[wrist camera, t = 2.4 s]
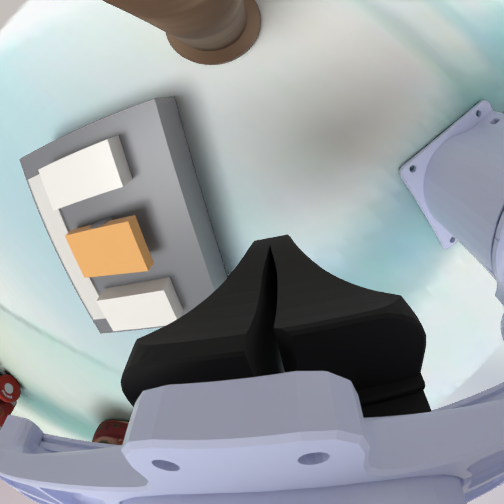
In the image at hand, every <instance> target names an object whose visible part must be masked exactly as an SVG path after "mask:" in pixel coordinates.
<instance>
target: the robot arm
mask: <svg viewBox="0 0 504 504" xmlns="http://www.w3.org/2000/svg"><path fill="white" fill-rule="evenodd" d="M477 111H478V116H476V112H477ZM412 165H413V166H414V169H413V171H410V167H411V166H412ZM399 174H400V177H401V178H402V180H403V181H404V183H405V184H406V186H407V187H408V189H409V191H410V192H411V194H412V195H413V197H414V199H415V200H416V202H417V204H418V205H419V207H420V209H421V210H422V212H423V214H424V215H425V217H426V219H427V220H428V222H429V224H430V226H431V227H432V229H433V231H434V233H435V235H436V236H437V238H438V240H439V242H440V244H441V246H442V247H443V248H444V249H448V248H450V247H451V246H453V245H454V244H455V243H456V242H457V241H459V242H460V243H461V244H462V245H463V246H464V247H465V248H466V249H467V250H468V251H469V252H470V253H471V254H472V255H473V256H474V257H475V258H476V259H477V260H478V261H479V262H480V263H481V264H482V265H483V267H484V268H485V269H486V270H487V271H488V272H489V273H490V274H491V275H492V276H493V277H494V278H495V279H496V281H497V290H496V293H495V296H496V297H497V298H498V300H499V301H500V302H501V303H502V305H503V306H504V113H501V112H497V111H493V109H492V107H491V105H490V103H489V102H488V101H487V100H481V101H480V102H479V103H478V104H476V105H475V106H474V107H473V108H472V109H470V110H469V111H468V112H467V113H466V114H465V115H463V116H462V117H461V118H460V119H459V120H457V121H456V122H455V123H454V124H453V125H451V126H450V127H449V128H448V129H447V130H445V131H444V132H443V133H442V134H441V135H439V136H438V137H437V138H436V139H435V140H433V141H432V142H431V143H430V144H429V145H427V146H426V147H425V148H424V149H423V150H421V151H420V152H419V153H418V154H416V155H415V156H414V157H413V158H412V159H410V160H409V161H408V162H407V163H405V164H404V165H403V166H402V167H401V168H400V170H399ZM451 237H453V239H452V240H450V239H451ZM501 333H502V337H503V340H504V314H503V316H502V320H501ZM425 348H426V334H425V331H424V329H423V327H422V325H421V323H420V321H419V319H418V317H417V316H416V314H415V313H414V312H413V310H412V309H411V308H410V306H409V305H408V304H407V303H406V301H405V300H404V299H403V298H402V296H400V295H395V294H389V293H384V292H378V291H374V290H370V289H367V288H363V287H360V286H357V285H354V284H351V283H349V282H347V281H344V280H342V279H340V278H338V277H336V276H334V275H332V274H330V273H329V272H327V271H325V270H324V269H322V268H321V267H320V266H318V265H317V264H316V263H314V262H313V261H312V260H311V259H310V258H309V257H308V256H306V255H305V254H304V253H303V252H302V251H301V250H300V249H299V248H298V246H297V245H296V244H295V243H294V242H293V240H292V239H291V237H290V236H289V235H283V236H278V237H273V238H267V239H262V240H257V241H254V242H253V243H252V245H251V246H250V248H249V249H248V251H247V252H246V254H245V255H244V257H243V258H242V260H241V261H240V262H239V264H238V265H237V267H236V268H235V269H234V270H233V272H232V273H231V274H230V275H229V276H228V278H227V279H226V280H225V281H224V282H223V283H222V284H221V285H220V286H219V287H218V288H217V289H216V290H215V291H214V292H213V293H212V294H211V295H210V296H209V297H207V298H206V299H205V300H204V301H202V302H201V303H200V304H198V305H197V306H196V307H195V308H193V309H192V310H191V311H189V312H188V313H186V314H185V315H183V316H182V317H180V318H178V319H177V320H175V321H173V322H172V323H170V324H168V325H166V326H164V327H162V328H160V329H158V330H156V331H154V332H152V333H150V334H148V335H146V336H143V337H141V338H139V339H137V340H136V342H135V344H134V347H133V349H132V352H131V354H130V357H129V359H128V362H127V364H126V367H125V369H124V372H123V375H122V379H121V387H122V391H123V393H124V394H125V396H126V398H127V399H128V401H129V402H130V403H131V405H132V406H133V407H134V408H133V411H132V414H131V418H130V421H129V424H128V428H127V431H126V434H125V438H124V441H123V444H122V445H113V444H104V443H96V442H89V441H82V440H76V439H70V438H64V437H59V436H54V435H49V434H44V433H43V431H42V430H41V429H40V428H39V427H38V426H37V425H36V424H35V423H33V422H32V421H30V420H29V419H26V418H22V417H18V416H13V415H8V416H7V418H6V420H5V422H4V424H3V426H2V428H1V430H0V479H1V480H3V481H4V482H5V483H7V484H8V485H9V486H11V487H13V488H14V489H15V490H17V491H18V492H20V493H21V494H23V495H24V496H26V497H27V498H29V499H31V500H32V501H34V502H37V503H39V504H467V503H468V502H470V501H472V500H474V499H476V498H478V497H480V496H481V495H483V494H485V493H487V492H489V491H491V490H493V489H494V488H496V487H498V486H500V485H501V484H503V483H504V382H503V383H501V384H499V385H496V386H494V387H492V388H490V389H487V390H485V391H483V392H481V393H478V394H476V395H473V396H471V397H468V398H466V399H463V400H460V401H458V402H455V403H452V404H450V405H447V406H444V407H441V408H438V409H435V410H432V411H431V409H430V406H429V403H428V401H427V398H426V396H425V393H424V391H423V389H424V388H425V382H424V380H423V377H422V375H421V373H420V372H421V368H422V363H423V358H424V353H425ZM284 371H285V373H284Z"/></svg>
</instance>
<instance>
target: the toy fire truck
mask: <svg viewBox="0 0 504 504" xmlns="http://www.w3.org/2000/svg"><path fill="white" fill-rule="evenodd" d="M19 396H20V386H19V384H18V382H17V380H16V379H15V378H14V377H12V376H10V375H2V376H0V430H1V428H2V426H3V424H4V422H5V420H6V418H7V416H8V415H10V414H11V413H12V411H13V409H14V407H15V406H16V400H17V399H18V398H19Z"/></svg>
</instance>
